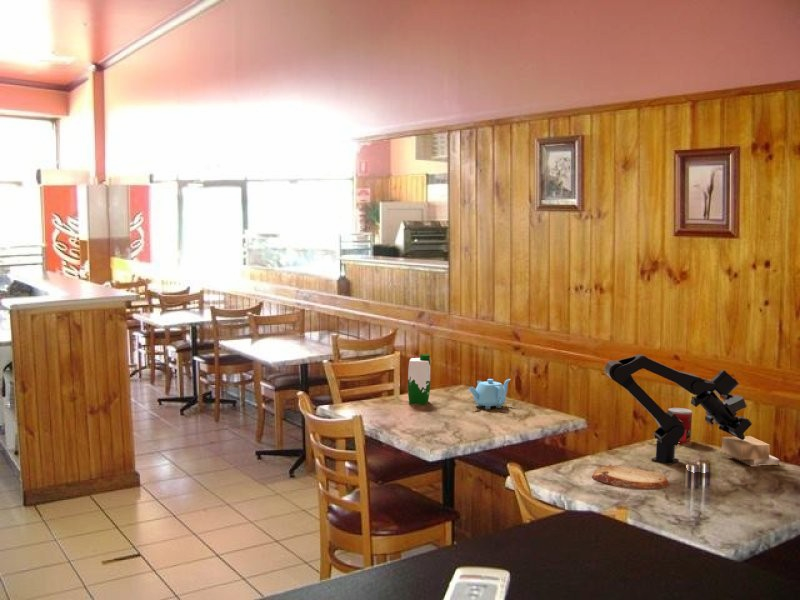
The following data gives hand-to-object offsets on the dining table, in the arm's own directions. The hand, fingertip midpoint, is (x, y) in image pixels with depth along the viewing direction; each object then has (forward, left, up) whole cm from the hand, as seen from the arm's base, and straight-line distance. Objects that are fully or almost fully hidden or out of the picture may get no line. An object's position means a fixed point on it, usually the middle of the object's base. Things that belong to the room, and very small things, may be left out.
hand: (743, 438), depth 278 cm
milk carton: (-11, +129, -7) cm, 129 cm away
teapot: (+5, +105, -7) cm, 105 cm away
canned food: (+9, +26, -7) cm, 28 cm away
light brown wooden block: (-3, +3, -3) cm, 5 cm away
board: (+3, -2, -7) cm, 8 cm away
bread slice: (-47, +16, -8) cm, 50 cm away
